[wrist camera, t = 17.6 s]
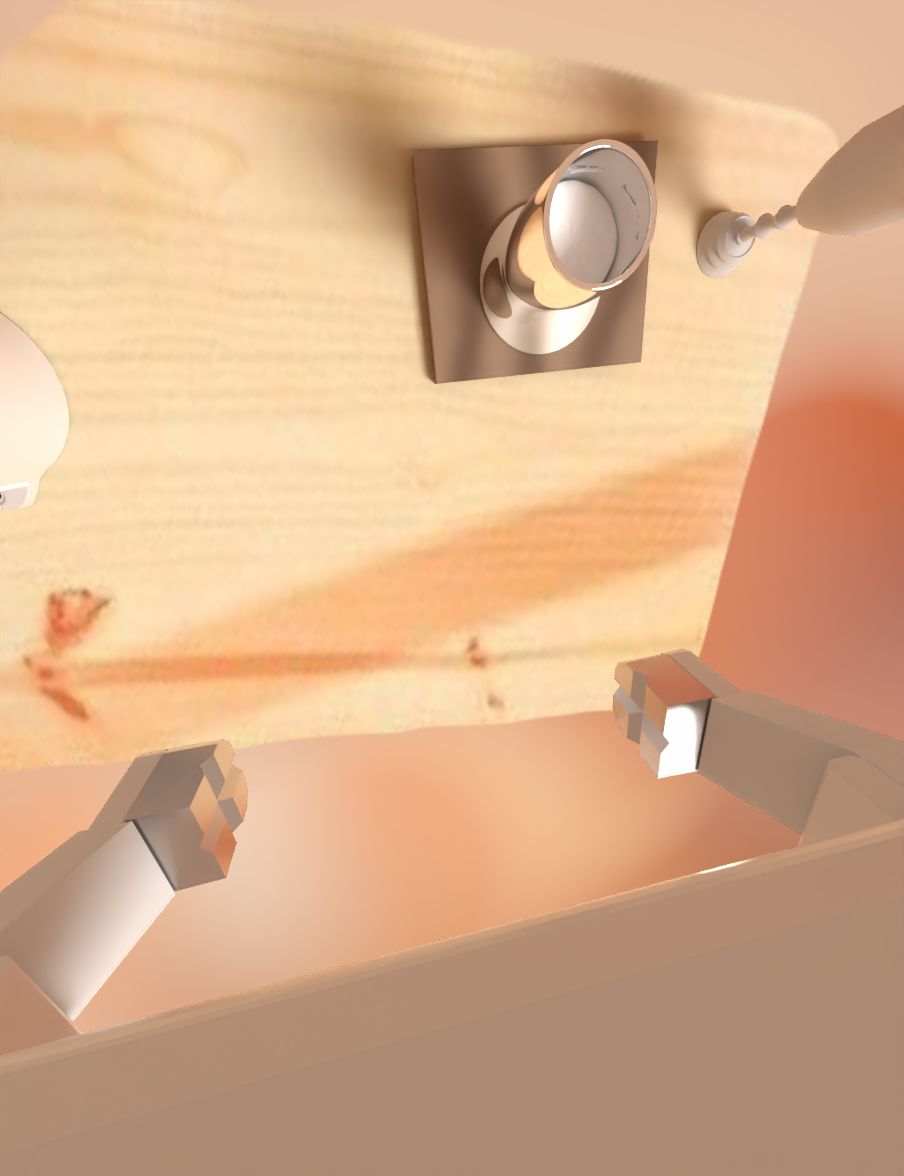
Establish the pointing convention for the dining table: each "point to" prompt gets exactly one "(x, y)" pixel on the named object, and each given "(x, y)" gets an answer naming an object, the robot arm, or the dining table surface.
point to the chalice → (824, 199)
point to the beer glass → (574, 235)
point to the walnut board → (466, 243)
